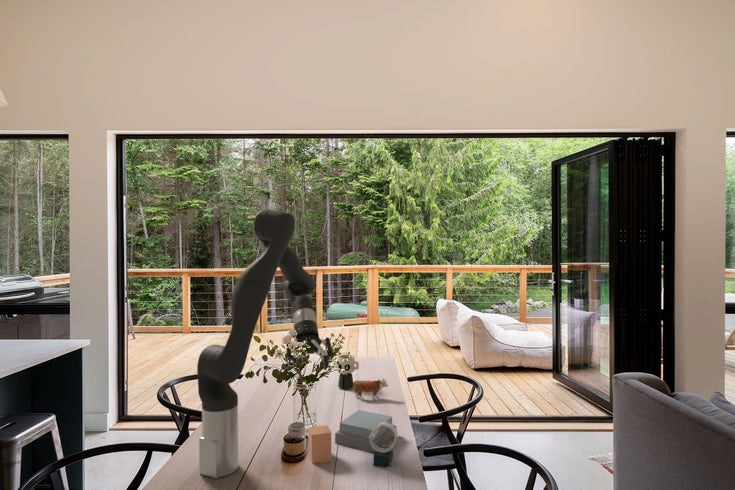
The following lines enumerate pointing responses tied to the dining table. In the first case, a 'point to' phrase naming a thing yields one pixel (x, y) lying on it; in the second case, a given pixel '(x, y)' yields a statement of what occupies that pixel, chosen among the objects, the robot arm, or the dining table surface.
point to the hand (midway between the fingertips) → (312, 370)
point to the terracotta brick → (319, 444)
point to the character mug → (346, 371)
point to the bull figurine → (369, 387)
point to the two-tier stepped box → (363, 430)
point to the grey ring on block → (382, 453)
